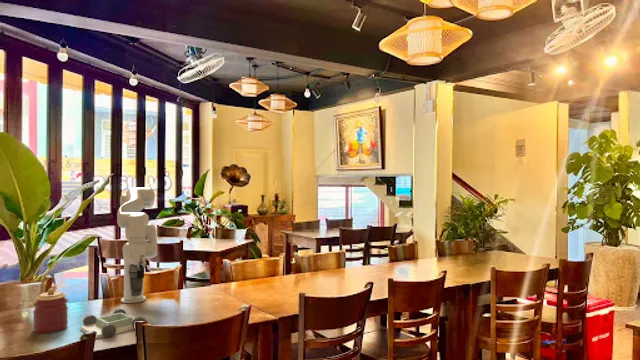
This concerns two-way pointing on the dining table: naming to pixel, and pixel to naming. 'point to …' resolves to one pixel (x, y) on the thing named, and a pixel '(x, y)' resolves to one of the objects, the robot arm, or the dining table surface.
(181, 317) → the dining table surface
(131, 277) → the beverage cup
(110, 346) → the dining table surface
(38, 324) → the canister
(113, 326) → the chassis bay
